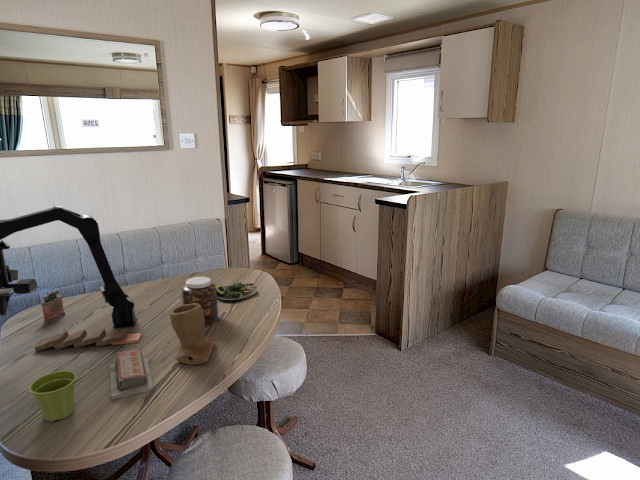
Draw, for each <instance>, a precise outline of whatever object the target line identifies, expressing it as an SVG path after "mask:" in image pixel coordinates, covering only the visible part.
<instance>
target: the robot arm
mask: <svg viewBox="0 0 640 480" xmlns="http://www.w3.org/2000/svg"><path fill="white" fill-rule="evenodd" d="M56 221H60V222H62V223H64V224H65V225H68V226H70V227H72V228H75V229H77V230H78V231H79V233H80V234H81V236H82V238H83V239H84V241H85V242H86V244H87V245H88V246H87V247H88V249H89V251H90V253H91V256H92V259H93V261H94V264H95V266H96V269H97V270H98V273H99V275H100V276H99V277H100V278H101V280H102V286H99V287H98V288H99V289H98V290H100V292H101V294H102V298H103V301H104V302H105V304H107V303H108V305H109V306H110V307H113V308H112V312H111V320H112V324H113V325H112V327H113V329H116V328H125V327H134V326H135V324H136V322H137V320H138V318H137V317H136V310H135V302H134V301H133V299H131V297H130V295H128V294H126V293H125V292H124V291H123V289H122V288H121V286H120V284H119V282H118V281H117V280H116V278H115V275H114V273H113V270H112V267H111V264H110V263H109V260H108V258H107V255H106V253H105V250H104V248H103V245H102V242H101V234H100V233H101V232H100V228H99V223H98V222H97V220H96V219H95V218H94V217H93V216H92V215H90V214H80V213H77V212H74V211H71V210H69V209H66V208H64V207H63V206H61V205H54V206H53V207H50V208H46V209H44V210H43V209H42V210H39V211H35V212H32V213H29V214H28V213H27V214H24V215H21V216H20V215H19V216H16V217H14V218H13V217H12V218H8V219H0V316H5V315H6V314H7V311H8V310H7V309H8V306H9V302H10V298H11V297H12V295H13V294H17V295H21V294H22V295H24V294H30V293H31V292H33V291H34V290H35V289H36V288H38V282H37V281H36V279H34V278H23V279H22V278H21V279H20V280H19V270H18V269H10V266H9V265H8V264H6V260H5V254H4V250H9V249H10V248H11V245H10V244H9V243H7V242H5V241H4V239H5V238H7V237H9V236H12V234H15V233H19V232H22V231H24V230H29V229H31V228H35V227H39V226H42V225H47V224H49V223H52V222H56ZM14 281H16V282H15V283H12V282H14Z"/></svg>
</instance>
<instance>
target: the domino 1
mask: <svg viewBox="0 0 640 480" xmlns="http://www.w3.org/2000/svg"><path fill="white" fill-rule="evenodd" d="M69 335H70V334H69V333H68V331H67V330H65V331H63V332H60V333H56V334H54V335H50V336H47V337H46V338H43V339H41V340H40V341H39V342H38V343H36V345H35V346H34V347H33V349H34V350H35V352H36V353H38V352H41V351H42V350H46V349H48V348H51V347H54V345H57V344H60V343H63V342H64V340H65V339H66V338H67V337H68V336H69Z"/></svg>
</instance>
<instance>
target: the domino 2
mask: <svg viewBox="0 0 640 480" xmlns="http://www.w3.org/2000/svg"><path fill="white" fill-rule="evenodd" d="M87 334H88V332H87V330H86V329H83V330H80V331H77V332H74V333H72V334H69V336H68V337H67V338H66V339H65V340H64V342H63V343H60V344H57V345H54V346H53V348H54V350H55V351H57V350H61V349H63V348H66V347H69V346H71V345H73V344H75V343H78V342H81V341H82V340H83V339H84V337H85V336H86V335H87Z"/></svg>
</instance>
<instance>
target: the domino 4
mask: <svg viewBox="0 0 640 480" xmlns="http://www.w3.org/2000/svg"><path fill="white" fill-rule="evenodd" d="M127 334H129V332H128V329H127V328H125V329H120V330H115V331H112V332H108V333H107V332H106V334H105V336H104V337H103V339H102V340H101V341H98V342H95V345H96V347H97V348H99V347H102V346H106V345H110V344H111V343H115V342H120V341H123V340H124V338H125V337H126V336H127Z"/></svg>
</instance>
